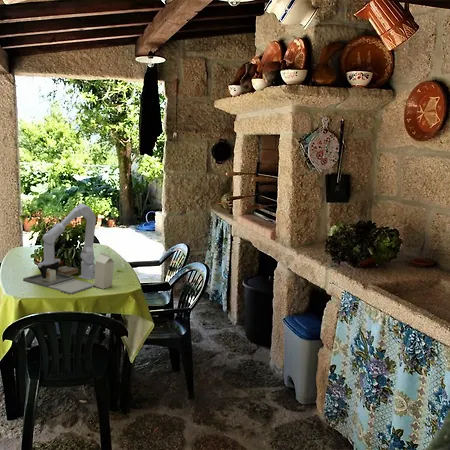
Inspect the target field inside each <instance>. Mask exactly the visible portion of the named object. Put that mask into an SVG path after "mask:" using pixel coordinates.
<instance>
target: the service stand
mask: <svg viewBox="0 0 450 450" xmlns="http://www.w3.org/2000/svg"><path fill="white" fill-rule="evenodd" d="M69 267H70V268H69ZM69 267H67V265H64V266H59V268H58V271H57V273H61V274H65V275H69V276H73V275H75V274H78V273H79V269H78V268H76V267H72V266H69Z"/></svg>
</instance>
